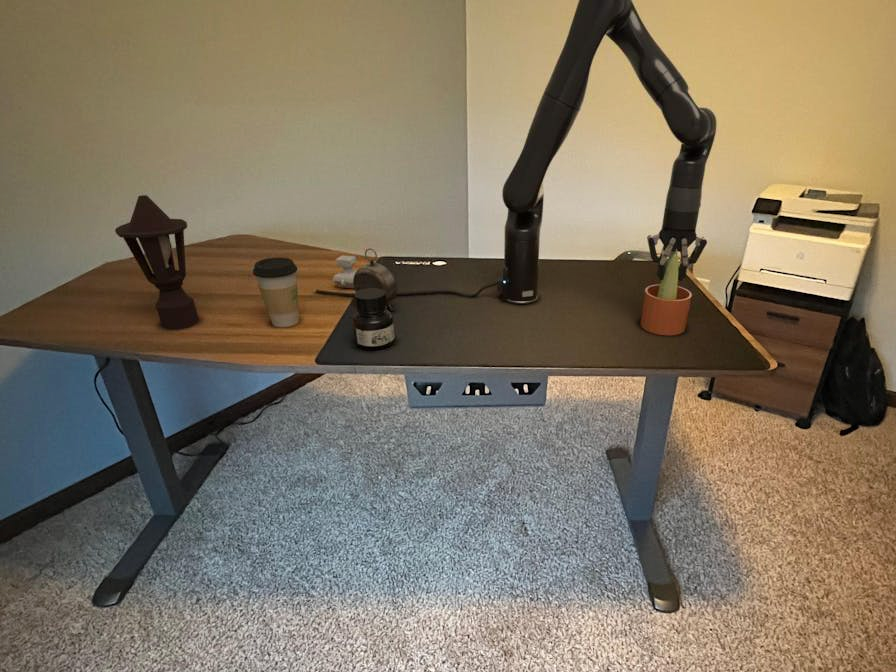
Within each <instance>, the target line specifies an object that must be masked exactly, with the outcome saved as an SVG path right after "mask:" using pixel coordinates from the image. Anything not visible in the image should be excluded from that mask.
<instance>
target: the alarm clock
mask: <svg viewBox="0 0 896 672" xmlns="http://www.w3.org/2000/svg"><path fill="white" fill-rule="evenodd" d="M368 251H372V252H373V253H374V255H375V258H374V259H373V258H371V259H369V258H368V256H367V252H368ZM364 256H365V258H366V260H368V261H369V263H367V264H366V265H364V266H362V267H360V268H358V269H357V270H356V273H355V275H354V278H353V285H354V288H353V289H354V291H355V292H354V293H356V292H357V291H359V290H362V289H367V288H376V289H381V290H384V291H385V292H386V302H387V305H386V306H387V308H389V309H390V312H394V309H393V306H391V304H390V303H391V302H393V300H394V299H395V298H396V296H397V295H396V293H398V286H397V281H396V278H395V276H394V275H393V273H392V272H391V270H390V269H388V268H387V267H386V266H385V265H383V264H381V263H378V262H375V261H376V260H377V258H378V255H377V252H376V250H375V249H373V248H372V247H371V248H370V247H369V248H367V249H366V250H365V251H364Z"/></svg>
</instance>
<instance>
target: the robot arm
mask: <svg viewBox="0 0 896 672" xmlns="http://www.w3.org/2000/svg"><path fill="white" fill-rule="evenodd" d="M567 33H568V34H567V36H566V39H565V42H564V45H563V48H562V50H561V52H560V53H559V56H558V59H557V60H556V64H555V66H554V67H553V71H552V73H551V75H550V78H549V80H548V82H547V84H546V86H545V88H544V91H543V93H542V95H541V97H540V100H539V102H538V105H537V108H536V110H535V113H534V116H533V119H532V122H531V124H530V127H529V129H528V132H527V136H526V139H525V141H524V145H523V147H522V150H521V152H520V154H519V157H518V158H517V160H516V162H515V164H514V166H513V167H512V169H511V171H510V173H509V175H508V177H507V178H506V180H505V182H504V184H503V187H502V191H501V192H502V197H501V198H502V201H503V203H504V206H505V207H506V208H507V216H506V221H505V225H504V241H503V243H504V252H503V253H504V254H503V256H504V257H503V271H502V272H503V274H498V277H497V281H495V282H492V283H489V284H486V285H484V286H482V287H480V288H479V290H478V291H476V292H475V293H473V294H466V293H462V292H458V291H455V290H449V289H448V290H447V289H446V290H445V289H439V290H438V289H437V290H422V291H421V290H418V291H406V292H405V291H403V292H397V293H396V296H409V295H427V294H428V295H429V294H452V295H453V294H454V295H457V296H459V297H460V296H461V297H466V298H475V297H477V296H478V295H479V294H481V292H482V291H484V290H486V289H488V288H492V287H494V286H496V287H497V292H502V302H505V303H509V304H514V305H529V304H532V303H535V302H537V301H538V294H539V293H538V292H539V291H538V289H539V288H538V286H539V268H540V267H539V266H540V265H539V264H540V263H539V262H540V243H541V242H540V241H541V240H540V239H541V228H542V224H543V223H542V222H543V215H544V200H545V199H544V198H545V197H544V196H545V187H544V179H545V177H546V174H547V173H548V170H549V167H550V165H551V163H552V161H553V160H554V158H555V157H556V156H557V154H558V152H559V150H561V147H563V144H564V143H565V141H566V140H567V138H568V136H569V135H570V132H571V131H572V129H573V127H574V125H575V123H576V122H577V121H576V120H577V119H578V116H579V115H580V112H581V110H582V108H583V105H584V102H585V100H586V96H587V93H588V87H589V80H590V75H591V69H592V65H593V62H594V59H595V56H596V54H597V52H598V49H599V47H600V46H601V43H602V41H603V40H604V37H605V35H606V37H608V38H609V39H610V40H611V41H612V42H613V43H614V44H615V45H616V46H617V47H618V49H620V51H621V52H622V53H623V55H624V56H625V58H626V59H627V61H628V62H629V64H630V65H631V67H632V69H633V71H634V73H635V75H636V77H637V79H638V81H639V82H640V85H641V86H642V87H643V88H644V91H645V92H646V93H647V94H648V95H649V97H650V99H651V100H652V101H653V102H654V104H655V105H656V106H657V108H659V110H660V112H661V114H662V116H663V118H664V120H665V122H666V124H667V126H668V128H669V131H670V132H671V134H672V135H673V136H674V138H675V139H676V140H677V141H678V142H679V143H681V145H680V149H679V153H678V156H676V158H675V159H674V161H673V163H672V167H671V174H670V180H669V185H668V189H667V193H666V198H665V204H664V211H663V219H662V224H661V229H660V231H659V232H658V233H657V234H654V235H652V234H648V235H647V237H646V239H647V245H648V249H649V254H650V258H651V260H652V263H657V269H656V275H657V278H658V279H659V281H661V280H663V278H664V272H665V266H666V263H667V260H668V257H669V254H670V252H673V251H676V249H677V252H678V253H680V262H679V269H678V282H682V281H683V279H685V278H686V276H687V270H688V266H690V265H691V264H693V265H694V264H696V263H697V262H698V260H699V259H700V256H701V255H702V253H703V251H704V250H705V248H706V246H707V244H708V241H707V238H706V237H704V236H698V234H697V232H696V230H697V224H698V219H699V214H700V209H701V206H702V197H703V186H704V179H705V174H706V167H707V162H708V160H709V157H710V154H711V151H712V148H713V145H714V142H715V138H716V135H717V134H716V133H717V127H718V120H717V116H716V114H715V112H714V111H713V110H712V109H710V108H708V107H706V106H698V105H697V103H696V102H695V100H694V99H693V97H692V96H691V94H690V86H689V84H688V82H687V80H686V79H685V78H684V76H683V75H682V74H681V72H679V69H678V68H677V67H676V65H675V64H674V63H673V62H672V60H670V58H669V57H668V56H667V55H666V53H665V52H664V51H663V50H662V48H661V47H660V46H659V45H658V43H657V41H655V39H654V38H653V37H652V35H651V33H650V32H649V30H648V29H647V27H646V26H645V24H644V22H643V21H642V19H641V17H640V15H639V13H638V11H637V8H636V7H635V5H634V3H633V0H578V2H577V6H576V8H575V12H574V15H573V18H572V21H571V24H570V27H569V30H568V32H567ZM659 240H660V242H661V244H662V248H661V250H660V253H659V255H658V254H657V249H656V246H657V245H658V243H659V242H658V241H659ZM693 243H694V248H693V250H692V252H691V254H690V256H689V250H688V248H689V247H690V246H691V245H692V244H693ZM315 293H316V294H317V293H319V294H325V295H333V296H344V297H345V296H346V297H354V294H355V293H356V292H352V293H351V292H339V291H329V290H321V289H316V290H315Z"/></svg>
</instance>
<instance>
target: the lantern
mask: <svg viewBox="0 0 896 672" xmlns="http://www.w3.org/2000/svg"><path fill="white" fill-rule="evenodd" d="M187 228H188V223H187V221H185V220H184V219H182V218H170V217H169V216H168V214H166V213H165V212H164V211H163V209H161V207H160V206H158V204H156V202H154V200H153V199H151V197H149V196H148V195H146V194H143V195H138V197H137V200H136V202H135V206H134V209H133V212H132V215H131V218H130V221H129V222H127V223H124V224H121V225H119V226H117V227H116V228H115V230H114V232H115V234H116V235H117V236H118V237H119V238H123V240H124V242H125V243H126V245H127V248H129V250H130V252H131V253H132V256H133V257H134V259H135V261H136V262H137V264H138V266H139V268H140V270H141V271H142V273H143V275H144V277H145V279H146V280H147V281H148V283H150V284H151V285H153V286H154V287H155V288H156V289H157V290H159V291H158V299H157V301H156V302H155V304H154V306H155V309H156V312H157V314H158V315H157V316H158V318H159V322H160V326H161V327H162V328H163V329H166V330H182V329H187V328H190V327H193V326H195V325H197V324H198V323H199V321H200V319H199V314H198V311H197V307H196V303H195V300H194V298H193V297H192V296H190V295H188V293H186V291H185V289H183V287H182V286H183V285H184V280H185V278H186V277H187V271H186V250H185V248H186V247H185V230H186V229H187ZM170 235H174V242H175V249H176V250H175V251H176V258H177V265H178V269H176V266H175V261H174V255H173V250H172V248H173V246H172V242H171V238H170Z"/></svg>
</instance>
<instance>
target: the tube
mask: <svg viewBox="0 0 896 672" xmlns="http://www.w3.org/2000/svg"><path fill="white" fill-rule="evenodd" d="M679 266H680V260H679V252H678V251H677V249H676V251H673V252H670V254H669V256H668V257H667V260H666V262H665V272H664V278H663V280H660V283H659V284H660V287H659V291H658V296H657V298H661V299H666V300H676V295H677V286H679V285H678V284H679V280H678V272H679Z"/></svg>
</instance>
